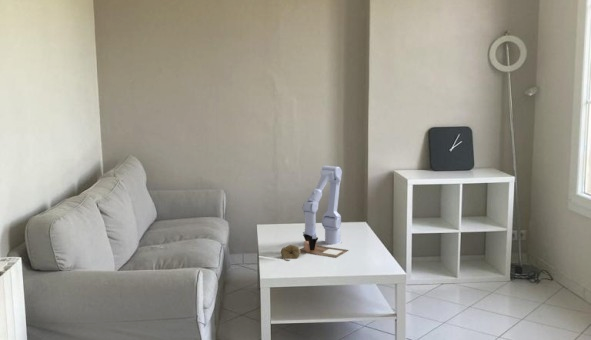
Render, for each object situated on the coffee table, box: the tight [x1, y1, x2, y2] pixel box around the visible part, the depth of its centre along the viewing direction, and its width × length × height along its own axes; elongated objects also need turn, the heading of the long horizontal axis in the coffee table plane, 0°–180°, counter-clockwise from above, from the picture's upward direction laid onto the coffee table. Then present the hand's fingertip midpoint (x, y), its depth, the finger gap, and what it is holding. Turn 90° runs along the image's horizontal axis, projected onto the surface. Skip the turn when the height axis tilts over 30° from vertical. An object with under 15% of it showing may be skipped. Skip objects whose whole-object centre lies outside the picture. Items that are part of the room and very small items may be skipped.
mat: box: [323, 249, 343, 255], centre depth 318 cm, size 8×8×1 cm
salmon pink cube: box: [303, 240, 318, 252], centre depth 322 cm, size 5×5×4 cm
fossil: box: [280, 244, 301, 262], centre depth 311 cm, size 9×4×10 cm
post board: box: [299, 245, 350, 259], centre depth 321 cm, size 16×24×4 cm, turn 60°
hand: (310, 248), depth 322 cm, fingers closed on salmon pink cube, 5 cm apart
